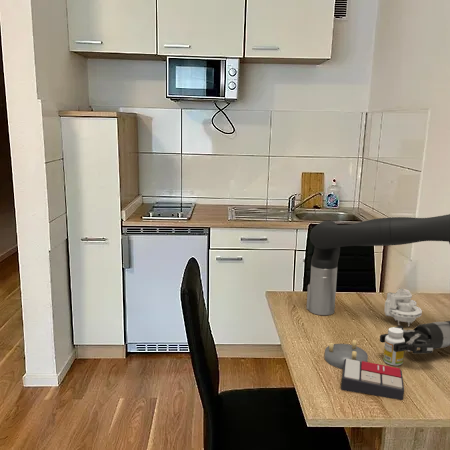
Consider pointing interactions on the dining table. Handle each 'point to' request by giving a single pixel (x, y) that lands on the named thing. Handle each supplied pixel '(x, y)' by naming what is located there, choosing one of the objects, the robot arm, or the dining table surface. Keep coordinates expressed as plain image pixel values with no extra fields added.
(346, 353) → the pin base
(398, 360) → the supplement bottle
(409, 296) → the mechanical part
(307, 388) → the dining table surface
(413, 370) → the dining table surface
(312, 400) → the dining table surface
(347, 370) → the calculator
